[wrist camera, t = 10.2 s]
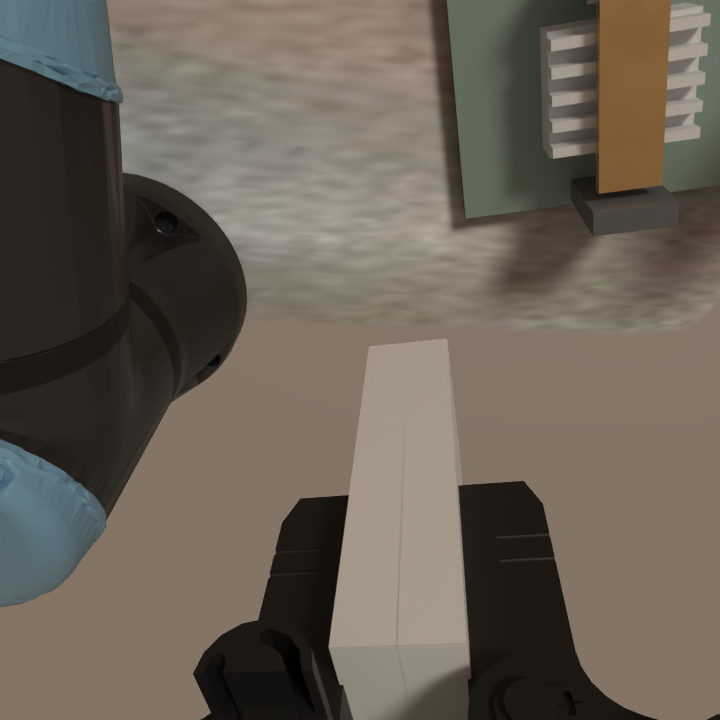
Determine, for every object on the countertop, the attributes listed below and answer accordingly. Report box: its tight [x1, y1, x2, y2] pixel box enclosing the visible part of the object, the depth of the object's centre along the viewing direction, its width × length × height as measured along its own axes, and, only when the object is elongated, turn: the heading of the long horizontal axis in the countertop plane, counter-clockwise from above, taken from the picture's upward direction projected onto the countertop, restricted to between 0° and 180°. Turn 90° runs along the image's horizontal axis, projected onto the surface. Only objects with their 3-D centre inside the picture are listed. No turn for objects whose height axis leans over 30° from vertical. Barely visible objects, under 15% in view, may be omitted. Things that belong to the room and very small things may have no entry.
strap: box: [585, 0, 671, 194], centre depth 31 cm, size 4×10×1 cm, turn 9°
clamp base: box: [446, 0, 720, 236], centre depth 33 cm, size 16×14×7 cm
